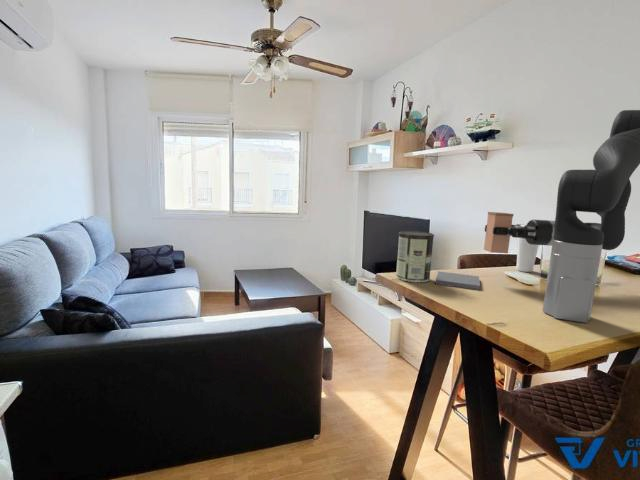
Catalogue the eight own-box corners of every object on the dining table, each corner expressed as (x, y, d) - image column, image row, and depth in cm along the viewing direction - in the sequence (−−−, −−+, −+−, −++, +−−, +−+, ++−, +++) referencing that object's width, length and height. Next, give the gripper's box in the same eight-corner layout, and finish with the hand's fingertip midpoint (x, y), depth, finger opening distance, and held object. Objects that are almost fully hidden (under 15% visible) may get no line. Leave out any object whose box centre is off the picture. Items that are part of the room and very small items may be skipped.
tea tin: (508, 253, 107) (513, 214, 106) (490, 252, 107) (495, 213, 106) (500, 250, 112) (505, 212, 111) (483, 249, 112) (487, 211, 111)
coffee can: (415, 273, 118) (419, 230, 116) (436, 281, 109) (441, 235, 106) (388, 274, 114) (392, 230, 112) (408, 283, 105) (412, 235, 103)
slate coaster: (479, 289, 102) (480, 285, 102) (435, 283, 106) (435, 279, 106) (478, 280, 113) (478, 276, 113) (438, 274, 117) (438, 271, 117)
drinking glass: (529, 269, 132) (535, 228, 130) (538, 273, 126) (545, 230, 123) (510, 267, 133) (515, 227, 131) (518, 272, 126) (524, 229, 124)
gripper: (534, 218, 115) (480, 215, 115) (563, 222, 101) (502, 219, 101) (531, 241, 116) (478, 238, 117) (559, 249, 102) (498, 245, 102)
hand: (489, 229), depth 109 cm, fingers closed on tea tin, 5 cm apart
